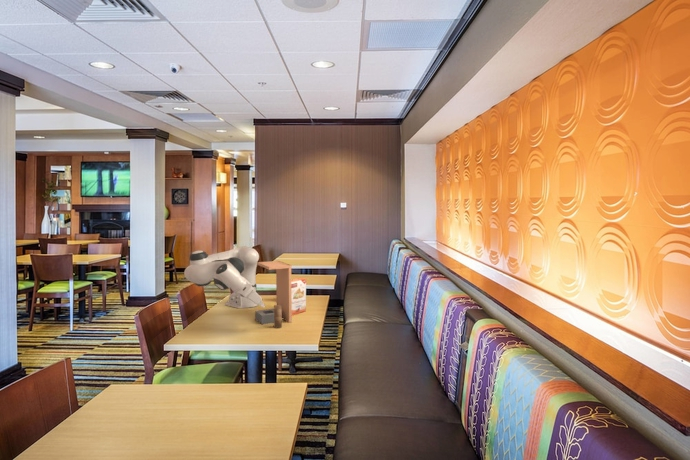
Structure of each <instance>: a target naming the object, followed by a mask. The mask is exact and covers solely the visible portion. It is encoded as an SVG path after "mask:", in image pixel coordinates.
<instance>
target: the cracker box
mask: <svg viewBox="0 0 690 460" xmlns="http://www.w3.org/2000/svg"><path fill="white" fill-rule="evenodd" d="M291 296H292V316H294V315H299V314H301V312H302V313H304V311H305V312H306V311H307V310H306V308H307V279H306V278H303V277H299V278H293V279H291Z"/></svg>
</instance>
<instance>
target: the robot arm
mask: <svg viewBox="0 0 690 460" xmlns="http://www.w3.org/2000/svg"><path fill="white" fill-rule="evenodd" d="M207 253H208V252H206V251H205V250H201V249H200V250H195V251H192V252H191V253H190V254H189V265H188V266H187V267H186V268H185V269H184V272H183V273H184V277H185V279H186V280H187V281H189V282H190V283H193V284H194V285H195V286H197V287H205V286H206V287H207V286H208V285H210V284H211V283H212V281H213V284H214V286H216V287H217V289H219V290H221V291H225V290H229V289H231V290H232V293H231V294H230V295H229V297H228V301H227V302H225V303H224V305H225V306H228V307H232V308H236V309H244V308H247V309H248V308H254V307H258V306H260V307H262V308H265V307H266V304H264V302H263V298H262V297H261V295H260V294H259V293H257V280H256V279H257V277H256V276H257V275H256V273H257V267H258V265H257V262H258V261H259V259H260V254H259V253H258V251H257V250H256V249H255V248H252V247H251V246H250V247H249V246H246V245H245V246H244V245H243V246H238V247H236V248H233V249H230V250H226V251H221V252H216V253H212V254H207Z"/></svg>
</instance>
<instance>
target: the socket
mask: <svg viewBox="0 0 690 460" xmlns="http://www.w3.org/2000/svg"><path fill="white" fill-rule="evenodd" d="M254 313H255V315H254V319H255V321H256V322H258V323H259V324H261V325H268V324H269V325H270V324H274V308H270V309H269V308H267V309H260V310H255V311H254Z"/></svg>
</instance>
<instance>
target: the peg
mask: <svg viewBox="0 0 690 460" xmlns="http://www.w3.org/2000/svg"><path fill="white" fill-rule="evenodd" d="M273 309H274V323H273V324H274V326H273V327H274V329H281V328H282V327H283V325H282V323H283V318H282V306H281V305H277V304H275V305H274V306H273Z"/></svg>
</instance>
